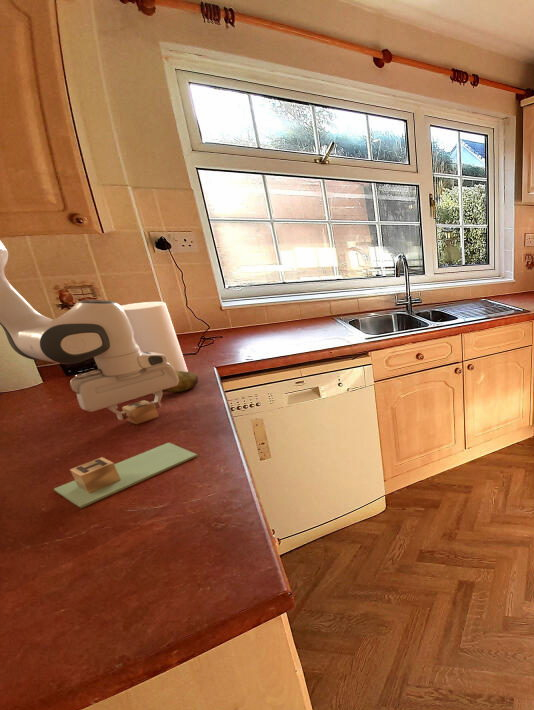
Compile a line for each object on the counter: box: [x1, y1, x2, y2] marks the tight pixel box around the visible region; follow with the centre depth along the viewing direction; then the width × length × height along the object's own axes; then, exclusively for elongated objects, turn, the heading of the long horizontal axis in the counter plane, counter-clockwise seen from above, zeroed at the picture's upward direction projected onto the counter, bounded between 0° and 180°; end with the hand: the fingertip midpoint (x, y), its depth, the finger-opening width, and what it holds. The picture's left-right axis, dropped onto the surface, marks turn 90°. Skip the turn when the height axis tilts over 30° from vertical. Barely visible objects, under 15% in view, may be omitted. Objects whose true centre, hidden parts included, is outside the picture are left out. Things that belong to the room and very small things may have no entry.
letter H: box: [69, 456, 121, 493], centre depth 83 cm, size 5×5×4 cm
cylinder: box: [120, 301, 189, 372], centre depth 132 cm, size 12×12×25 cm
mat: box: [53, 442, 198, 509], centre depth 88 cm, size 20×12×1 cm, turn 152°
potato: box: [162, 371, 200, 394], centre depth 128 cm, size 8×13×8 cm, turn 130°
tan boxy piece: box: [121, 399, 159, 425], centre depth 111 cm, size 5×5×4 cm
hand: (140, 413), depth 111 cm, fingers open, 6 cm apart
